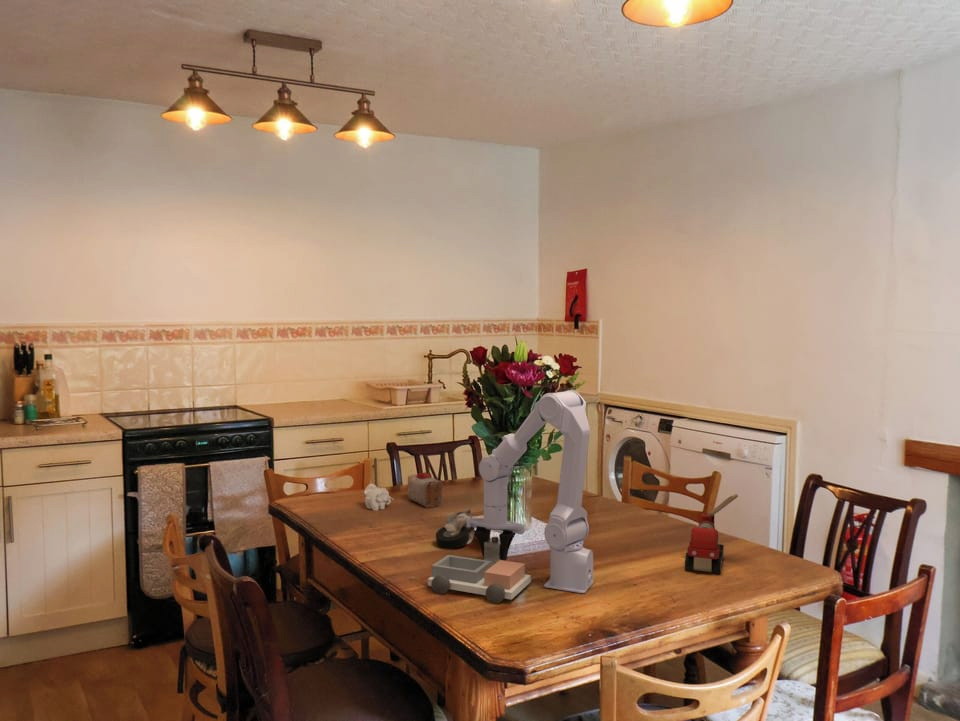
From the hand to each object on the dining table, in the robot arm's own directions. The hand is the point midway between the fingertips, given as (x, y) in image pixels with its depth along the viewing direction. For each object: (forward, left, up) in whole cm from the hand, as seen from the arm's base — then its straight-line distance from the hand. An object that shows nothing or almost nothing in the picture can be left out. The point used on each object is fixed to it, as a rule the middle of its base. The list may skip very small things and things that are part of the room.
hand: (494, 559), depth 198 cm
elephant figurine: (+53, -34, -2) cm, 63 cm away
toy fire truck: (-48, -22, -2) cm, 53 cm away
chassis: (-3, +16, -1) cm, 16 cm away
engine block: (0, 0, -1) cm, 1 cm away
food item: (+43, -46, -2) cm, 63 cm away
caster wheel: (+16, -12, -2) cm, 20 cm away
